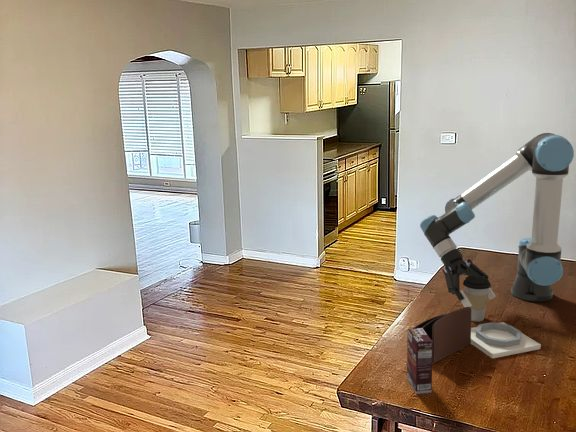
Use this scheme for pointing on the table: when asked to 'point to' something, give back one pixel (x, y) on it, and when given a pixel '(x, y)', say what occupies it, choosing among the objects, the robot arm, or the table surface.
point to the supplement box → (419, 360)
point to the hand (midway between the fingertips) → (481, 302)
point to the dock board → (501, 350)
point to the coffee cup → (477, 295)
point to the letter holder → (448, 332)
